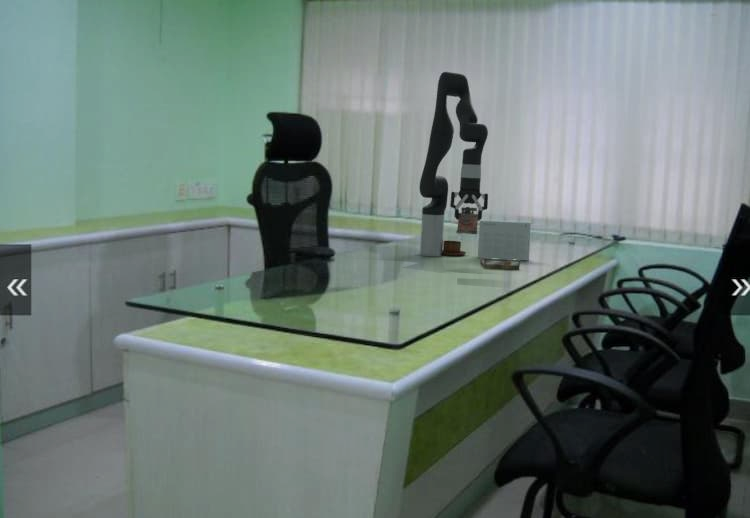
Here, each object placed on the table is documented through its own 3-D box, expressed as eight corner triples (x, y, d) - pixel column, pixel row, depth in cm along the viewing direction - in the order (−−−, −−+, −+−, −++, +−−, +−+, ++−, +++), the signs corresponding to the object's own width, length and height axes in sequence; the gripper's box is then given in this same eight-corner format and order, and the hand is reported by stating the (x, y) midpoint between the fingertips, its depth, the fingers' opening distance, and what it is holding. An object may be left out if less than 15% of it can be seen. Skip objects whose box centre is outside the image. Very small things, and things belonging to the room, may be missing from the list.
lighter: (455, 232, 313) (457, 206, 312) (458, 232, 316) (460, 206, 315) (475, 234, 309) (477, 207, 308) (478, 233, 312) (480, 207, 311)
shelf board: (484, 268, 307) (485, 258, 307) (480, 263, 324) (480, 254, 323) (519, 269, 307) (520, 260, 307) (513, 264, 324) (513, 255, 323)
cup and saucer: (468, 258, 343) (469, 243, 343) (440, 257, 342) (440, 242, 341) (462, 254, 355) (463, 240, 355) (434, 254, 354) (435, 239, 353)
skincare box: (527, 260, 345) (530, 222, 343) (528, 261, 340) (531, 223, 338) (477, 257, 347) (479, 219, 345) (477, 258, 342) (479, 220, 340)
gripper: (452, 175, 307) (449, 219, 309) (490, 177, 306) (487, 221, 308) (451, 175, 314) (448, 218, 316) (488, 177, 314) (485, 220, 316)
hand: (467, 220), depth 312 cm, fingers closed on lighter, 7 cm apart
